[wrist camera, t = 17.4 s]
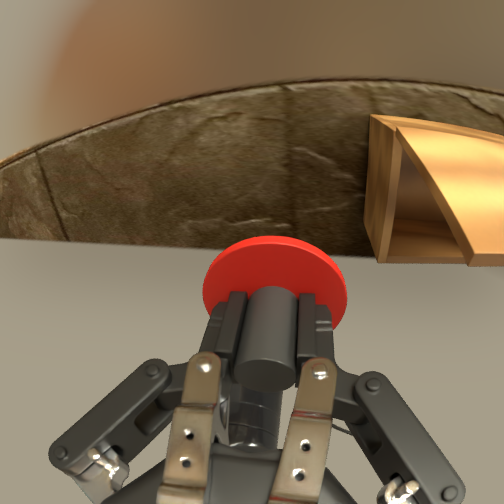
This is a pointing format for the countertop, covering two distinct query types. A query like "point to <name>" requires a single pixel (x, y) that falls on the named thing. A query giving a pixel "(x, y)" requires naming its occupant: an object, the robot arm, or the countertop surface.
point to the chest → (407, 197)
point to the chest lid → (463, 188)
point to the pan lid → (273, 302)
